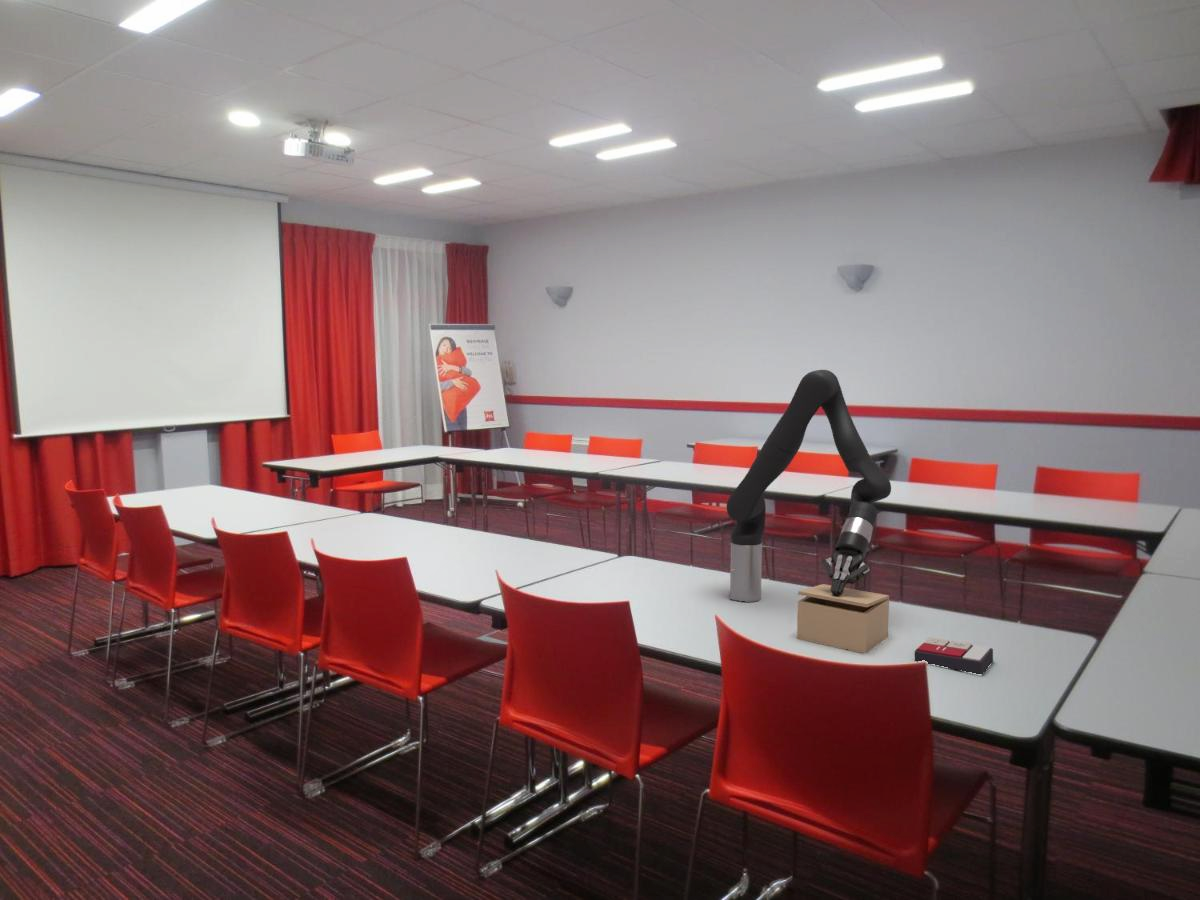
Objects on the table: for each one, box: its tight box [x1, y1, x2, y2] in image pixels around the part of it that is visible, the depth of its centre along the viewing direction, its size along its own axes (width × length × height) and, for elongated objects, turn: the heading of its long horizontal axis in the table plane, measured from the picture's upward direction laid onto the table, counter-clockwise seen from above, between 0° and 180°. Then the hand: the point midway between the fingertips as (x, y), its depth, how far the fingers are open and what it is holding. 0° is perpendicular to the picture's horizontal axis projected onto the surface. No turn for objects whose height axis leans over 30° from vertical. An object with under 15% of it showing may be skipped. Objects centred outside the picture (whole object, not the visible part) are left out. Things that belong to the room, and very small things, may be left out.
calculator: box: [914, 637, 994, 675], centre depth 192 cm, size 11×4×15 cm
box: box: [796, 596, 890, 654], centre depth 209 cm, size 16×18×10 cm
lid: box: [797, 583, 890, 607], centre depth 208 cm, size 16×18×1 cm
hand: (835, 594), depth 204 cm, fingers closed
